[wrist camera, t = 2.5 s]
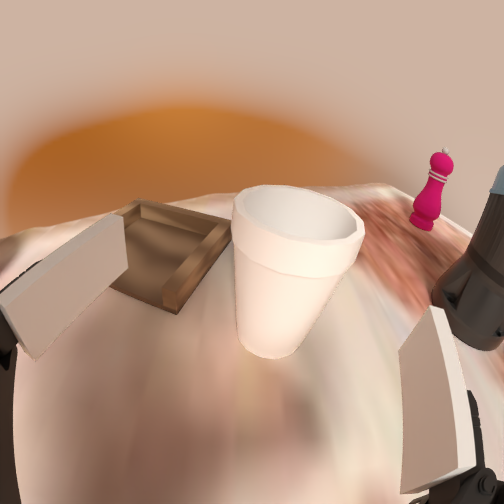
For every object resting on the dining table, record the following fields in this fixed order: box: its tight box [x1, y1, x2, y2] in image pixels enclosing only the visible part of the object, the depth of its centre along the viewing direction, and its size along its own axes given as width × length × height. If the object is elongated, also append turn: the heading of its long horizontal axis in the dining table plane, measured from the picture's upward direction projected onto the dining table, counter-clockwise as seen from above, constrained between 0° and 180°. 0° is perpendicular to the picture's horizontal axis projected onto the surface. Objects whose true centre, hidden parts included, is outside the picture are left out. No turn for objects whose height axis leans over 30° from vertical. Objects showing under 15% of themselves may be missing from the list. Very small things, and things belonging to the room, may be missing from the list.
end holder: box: [109, 198, 232, 315], centre depth 34 cm, size 16×16×3 cm
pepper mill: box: [410, 147, 454, 231], centre depth 53 cm, size 7×7×20 cm
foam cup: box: [231, 185, 365, 359], centre depth 23 cm, size 10×9×13 cm
